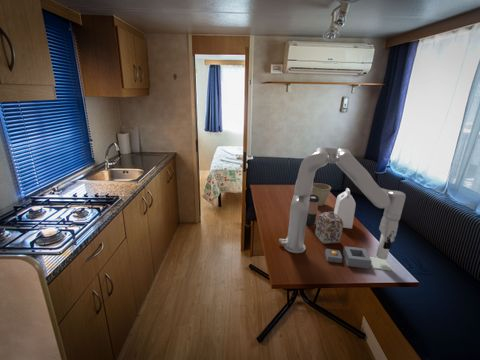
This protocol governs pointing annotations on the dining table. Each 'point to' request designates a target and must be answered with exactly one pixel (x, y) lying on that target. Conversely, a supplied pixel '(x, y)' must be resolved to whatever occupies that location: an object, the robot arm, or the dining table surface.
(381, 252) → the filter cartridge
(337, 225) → the decorative jar
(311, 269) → the dining table surface
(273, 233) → the dining table surface
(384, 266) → the mat
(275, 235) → the dining table surface
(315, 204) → the travel mug
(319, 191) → the plant pot
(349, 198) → the milk
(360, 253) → the grey square holder
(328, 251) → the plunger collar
